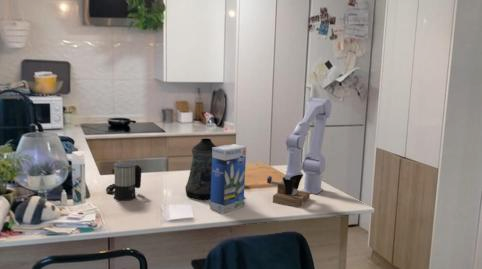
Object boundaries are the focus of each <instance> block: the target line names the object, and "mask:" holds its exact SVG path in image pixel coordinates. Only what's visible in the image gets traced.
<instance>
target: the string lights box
mask: <svg viewBox="0 0 482 269" xmlns="http://www.w3.org/2000/svg"><path fill="white" fill-rule="evenodd" d="M246 157H247V145H246V146H245V145H241V144H236V143H233V144H224V145H220V146H216V147H213V148H212V174H211V199H210V200H209V201H210V202H209V209H210V210H212V211H215V212H218V213H221V214H224V213H228V212H230V211H235V210H237V209H241V208H244V204H245V203H244V201H245V186H246V184H245V182H246V181H245V180H246V162H247V161H246V160H247V158H246Z"/></svg>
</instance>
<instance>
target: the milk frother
mask: <svg viewBox="0 0 482 269" xmlns="http://www.w3.org/2000/svg"><path fill="white" fill-rule="evenodd" d="M113 166H114V183H112V184H110V185H108V186H107V187H106V189H105V192H106V193H108V194H113V195H114V196H113V200H117V201H120V202H121V201H124V202H125V201H132V200H135V199H136V197H137V195H136V189H140V188H141V184H142V183H141V182H142V168H141V166H140V165H139V164H136V163H135V162H132V161H119V162H115V163H114V164H113Z"/></svg>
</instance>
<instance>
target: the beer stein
mask: <svg viewBox="0 0 482 269" xmlns="http://www.w3.org/2000/svg"><path fill="white" fill-rule="evenodd" d="M213 147H217V146H216V145H215V144H214V142H212V139H210V138H201V140H200V141H199V142H198V143H197V144H196V145H195V146H193V147H192V148H191V153H192V158H191V160H192V161H191V163H190V164H191V165H190V170H189V175H188V179H187V182H186V185H185V193H186V194H185V195H186V197H187V198H189V199H192V200H196V201H210V199H211V174H212V148H213Z"/></svg>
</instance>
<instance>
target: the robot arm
mask: <svg viewBox="0 0 482 269" xmlns="http://www.w3.org/2000/svg"><path fill="white" fill-rule="evenodd" d="M331 112H332V102H331V100H330V99H329V98H318V97H309V99H308V100H307V103H306V112H305V114H304V117H303V119H302V120H301V121H299V122H297V125H296V126H295V128H294V130H292V131H293V132H292V133H291V134H288V135H287V136H286V140H285V145H286V151H287V159H286V160H287V162H286V172H285V175H284V177H282V181H283V182H284V184H285V188H286V194H290V195H291V194H292V190H293V188H297V190H298V189H299V186H300V183H301V180H302V179H303V176H304V183H303V189H301V190H300V191H305V192H310V194H312V195H318V194H319V193H321V192H322V191H323V189H324V188H322V179H323V176H322V174H323V173H324V172H325V170H326V157H325V156H324V155H323V154H322V147H323V141H324V135H325V130H326V124H327V119H328V118H330V116H331ZM314 119H315V121H314V126H313V127H314V128H313V130H312V131H313V132H312V138H311V144H310V150H309V152H306V153H305V154H304V156H303V159H302V149H303V147H304V146H305V142H306V136H307V134H308V133H309V132H310V129H311V127H310V124H311V123H312V122H313V120H314ZM301 161H302V162H301ZM303 172H304V174H303Z"/></svg>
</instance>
